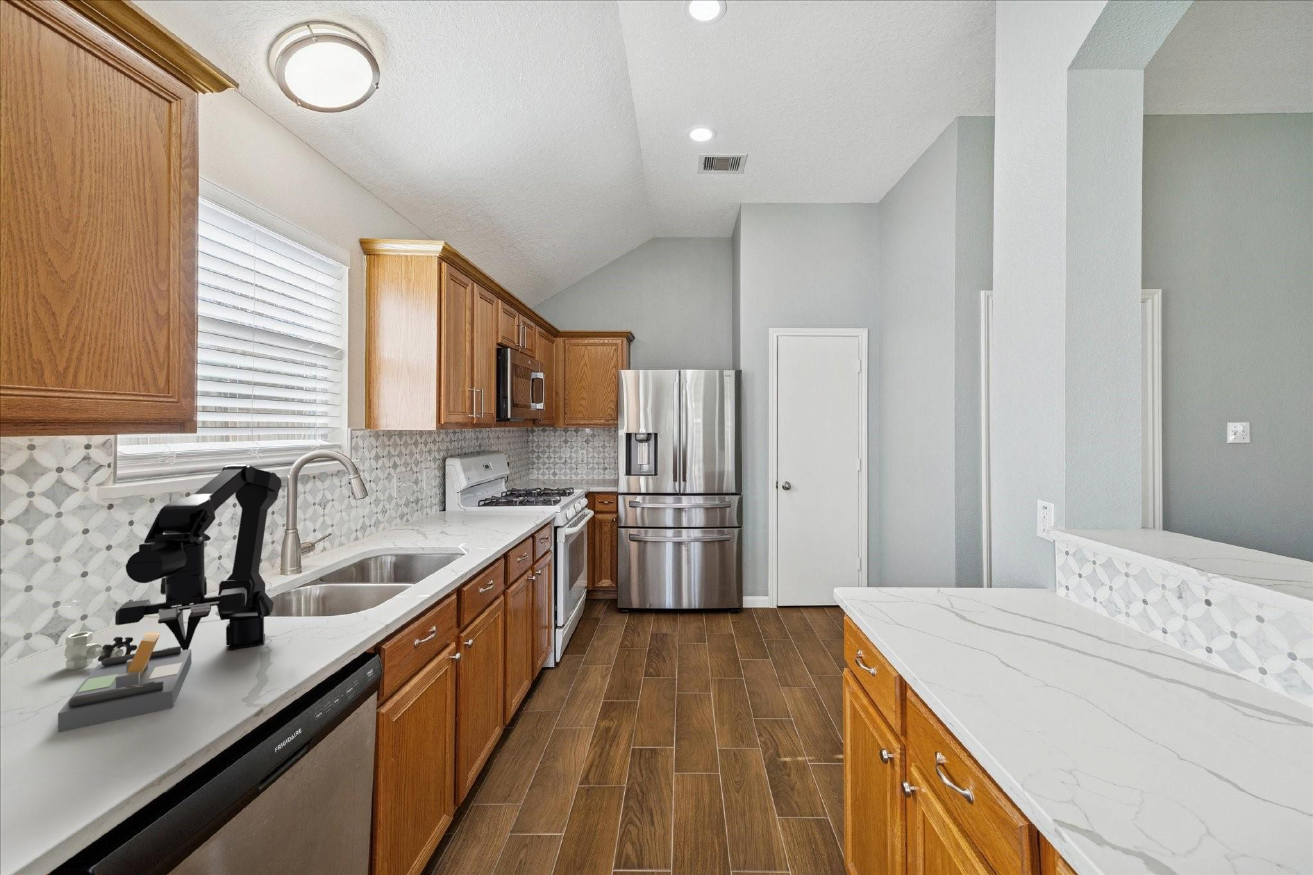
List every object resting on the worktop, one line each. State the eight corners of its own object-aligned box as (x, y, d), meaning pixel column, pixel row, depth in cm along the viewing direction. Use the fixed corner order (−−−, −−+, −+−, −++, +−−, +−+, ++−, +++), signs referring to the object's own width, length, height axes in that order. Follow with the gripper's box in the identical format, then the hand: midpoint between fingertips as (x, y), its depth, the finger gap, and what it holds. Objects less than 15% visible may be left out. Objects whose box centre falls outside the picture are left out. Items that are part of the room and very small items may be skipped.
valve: (51, 672, 110) (102, 676, 108) (50, 640, 110) (101, 643, 108) (89, 658, 117) (137, 662, 115) (89, 628, 117) (137, 631, 115)
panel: (191, 663, 114) (191, 639, 114) (172, 707, 96) (172, 679, 96) (98, 679, 107) (97, 654, 107) (58, 731, 88) (57, 701, 88)
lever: (145, 667, 104) (160, 633, 105) (139, 677, 100) (155, 641, 101) (132, 666, 103) (147, 632, 104) (125, 675, 99) (141, 640, 100)
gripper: (248, 554, 117) (248, 627, 117) (129, 566, 107) (129, 646, 107) (244, 565, 108) (245, 643, 108) (114, 579, 97) (114, 666, 98)
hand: (185, 649), depth 105 cm, fingers closed
